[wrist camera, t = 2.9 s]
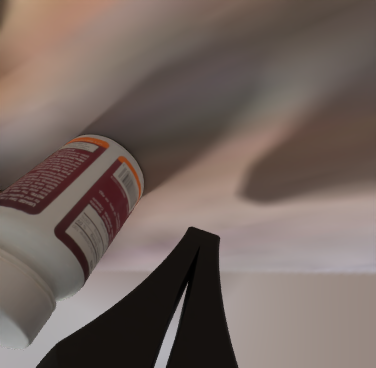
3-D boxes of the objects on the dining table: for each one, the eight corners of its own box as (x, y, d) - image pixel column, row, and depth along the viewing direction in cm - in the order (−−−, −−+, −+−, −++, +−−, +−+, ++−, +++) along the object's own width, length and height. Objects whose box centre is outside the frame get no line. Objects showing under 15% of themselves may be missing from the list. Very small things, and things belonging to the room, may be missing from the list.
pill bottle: (58, 175, 16) (-94, 303, 10) (80, 113, 13) (-116, 238, 7) (126, 219, 17) (26, 369, 10) (162, 169, 14) (53, 334, 8)
